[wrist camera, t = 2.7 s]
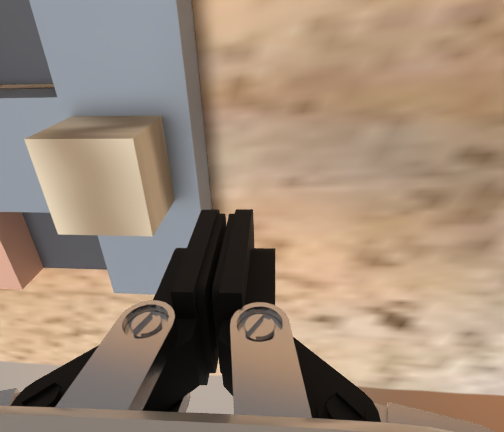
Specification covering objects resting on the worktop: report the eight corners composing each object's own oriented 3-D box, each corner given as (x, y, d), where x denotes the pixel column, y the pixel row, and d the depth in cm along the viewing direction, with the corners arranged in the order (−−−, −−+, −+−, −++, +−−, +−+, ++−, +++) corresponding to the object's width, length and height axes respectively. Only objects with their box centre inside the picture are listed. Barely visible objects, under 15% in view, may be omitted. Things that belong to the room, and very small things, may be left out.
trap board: (186, -54, 18) (142, -82, 12) (218, 269, 27) (201, 329, 22) (-189, -33, 20) (-363, -50, 14) (-34, 262, 29) (-103, 315, 24)
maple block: (161, 115, 19) (133, 138, 15) (174, 200, 21) (152, 236, 18) (71, 116, 19) (24, 139, 16) (94, 199, 22) (57, 234, 18)
